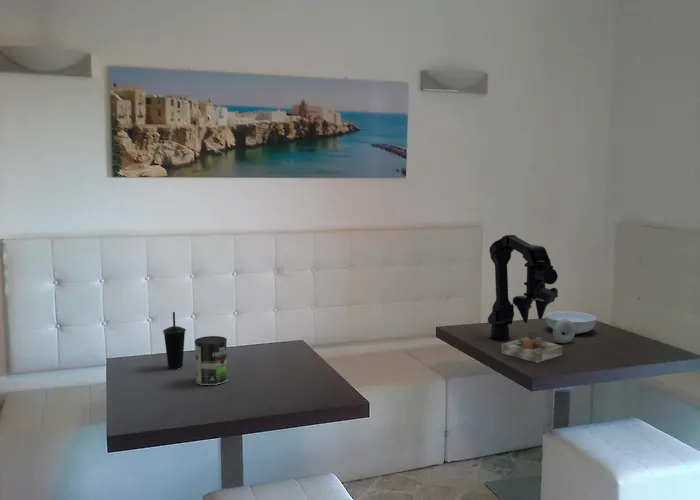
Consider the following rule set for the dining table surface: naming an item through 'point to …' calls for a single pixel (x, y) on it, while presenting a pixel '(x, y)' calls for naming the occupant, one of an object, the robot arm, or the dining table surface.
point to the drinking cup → (174, 345)
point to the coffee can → (211, 360)
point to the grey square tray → (532, 350)
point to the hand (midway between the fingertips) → (533, 320)
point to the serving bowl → (579, 319)
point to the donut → (558, 330)
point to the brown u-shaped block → (531, 341)
